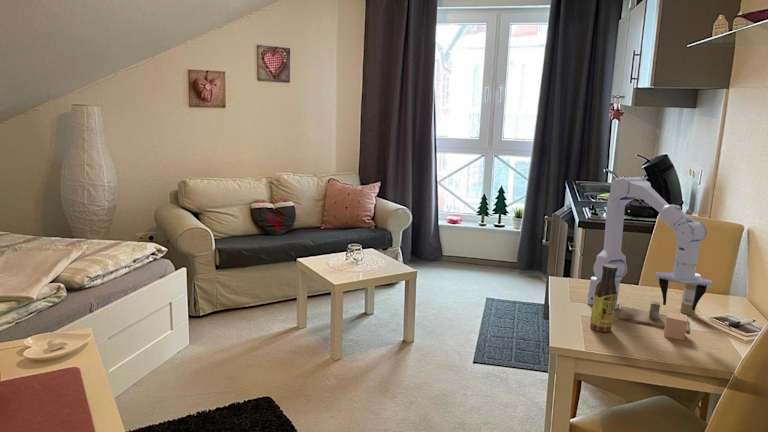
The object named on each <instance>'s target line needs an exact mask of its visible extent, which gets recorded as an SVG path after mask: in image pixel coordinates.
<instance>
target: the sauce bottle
mask: <svg viewBox="0 0 768 432" xmlns="http://www.w3.org/2000/svg"><path fill="white" fill-rule="evenodd" d="M616 272H617V266H615V265H610V264H604V265H603V273H602V278H601V281H600V282H599V283H598V284H597V286H596V291H595V295H594V301H593V305H592V310H591V314H590V325H589V326H590V328H591V329H592V330H593V331H596V332H599V333H600V332H601V333H608V332H610V331H611V330H612V327H613V323H614V315H615V310H616V309H615V305H616V299H617V291H616V285H615V276H616Z"/></svg>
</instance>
